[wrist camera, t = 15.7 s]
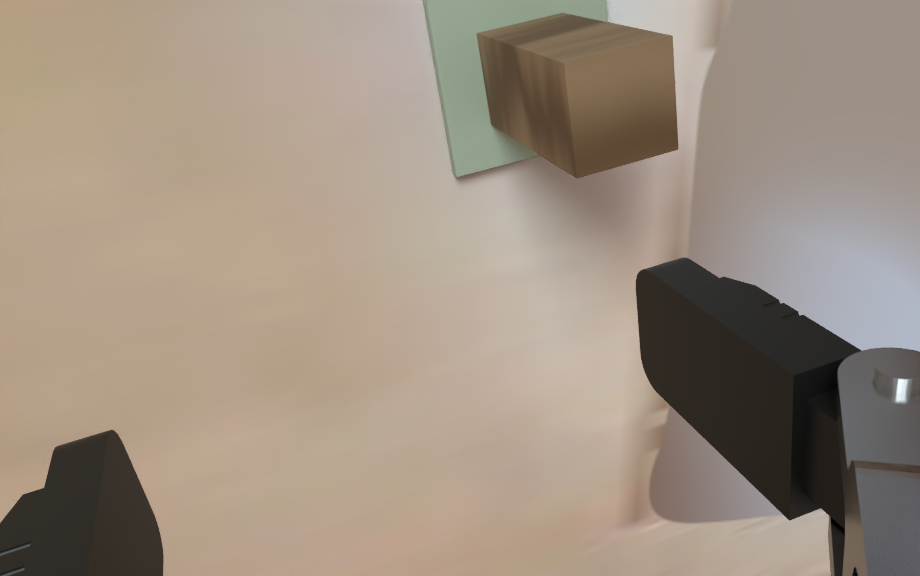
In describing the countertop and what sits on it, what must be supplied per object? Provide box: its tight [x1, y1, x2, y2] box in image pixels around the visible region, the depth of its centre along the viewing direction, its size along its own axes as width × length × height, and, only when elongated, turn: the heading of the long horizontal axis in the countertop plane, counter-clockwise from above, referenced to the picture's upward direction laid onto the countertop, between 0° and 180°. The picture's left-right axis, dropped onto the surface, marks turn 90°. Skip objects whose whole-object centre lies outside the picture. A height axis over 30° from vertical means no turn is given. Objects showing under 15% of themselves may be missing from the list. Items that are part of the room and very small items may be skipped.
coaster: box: [423, 0, 608, 177], centre depth 40 cm, size 9×9×1 cm
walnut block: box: [476, 13, 678, 178], centre depth 35 cm, size 4×4×10 cm
